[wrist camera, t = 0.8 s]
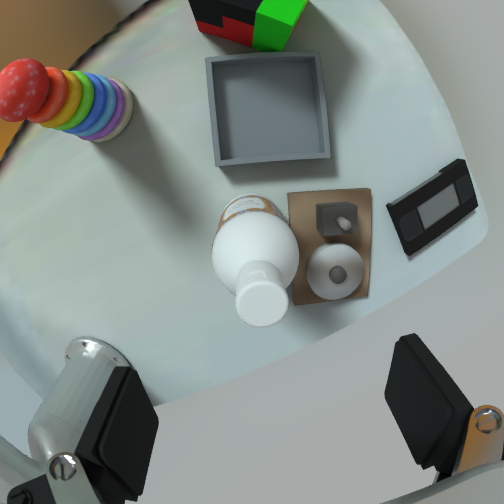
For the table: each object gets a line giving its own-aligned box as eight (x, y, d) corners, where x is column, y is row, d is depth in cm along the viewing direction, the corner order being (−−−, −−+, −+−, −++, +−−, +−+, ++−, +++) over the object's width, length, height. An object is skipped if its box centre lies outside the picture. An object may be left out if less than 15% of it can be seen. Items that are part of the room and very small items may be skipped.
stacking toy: (143, 83, 29) (58, 32, 11) (125, 146, 31) (25, 150, 14) (89, 77, 28) (-11, 42, 10) (73, 137, 30) (-36, 142, 13)
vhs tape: (383, 204, 35) (390, 207, 33) (456, 157, 33) (464, 158, 31) (402, 251, 37) (409, 256, 36) (470, 203, 35) (478, 205, 34)
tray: (323, 157, 33) (330, 157, 30) (217, 165, 33) (215, 166, 30) (313, 58, 29) (319, 51, 26) (207, 64, 29) (205, 57, 26)
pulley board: (364, 291, 39) (382, 313, 33) (293, 301, 38) (301, 326, 33) (367, 188, 34) (390, 195, 28) (287, 192, 34) (297, 201, 28)
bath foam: (271, 185, 34) (312, 228, 15) (286, 240, 36) (333, 338, 17) (213, 201, 34) (179, 265, 15) (230, 256, 36) (222, 366, 17)
